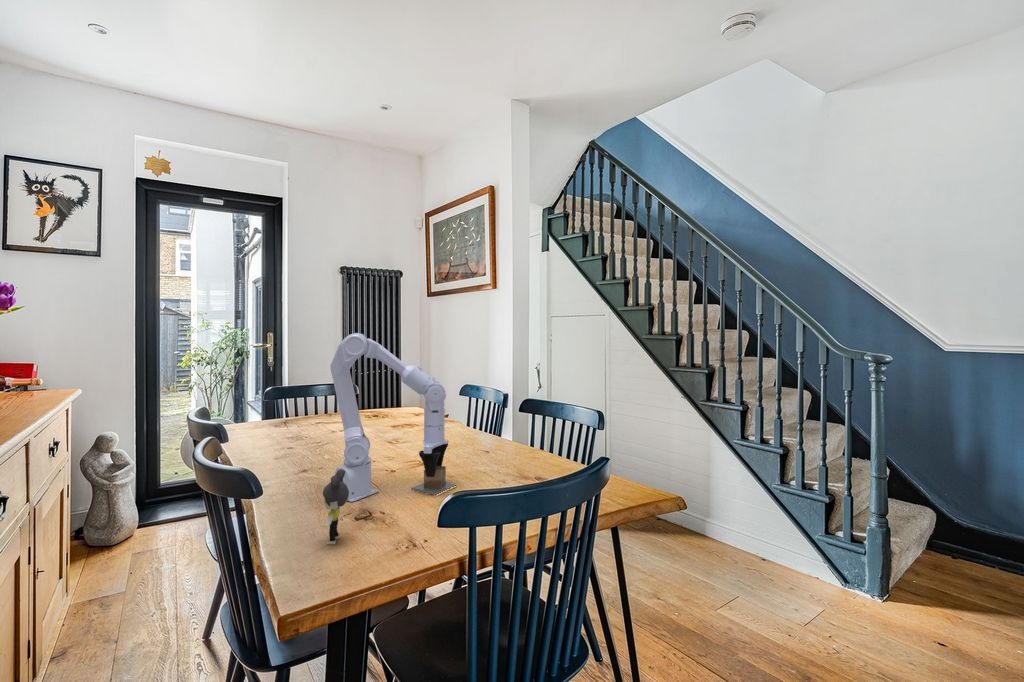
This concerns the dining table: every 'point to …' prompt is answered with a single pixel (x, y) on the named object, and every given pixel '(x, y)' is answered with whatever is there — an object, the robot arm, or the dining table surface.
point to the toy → (335, 502)
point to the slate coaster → (432, 491)
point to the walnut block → (436, 479)
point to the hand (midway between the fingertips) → (434, 472)
